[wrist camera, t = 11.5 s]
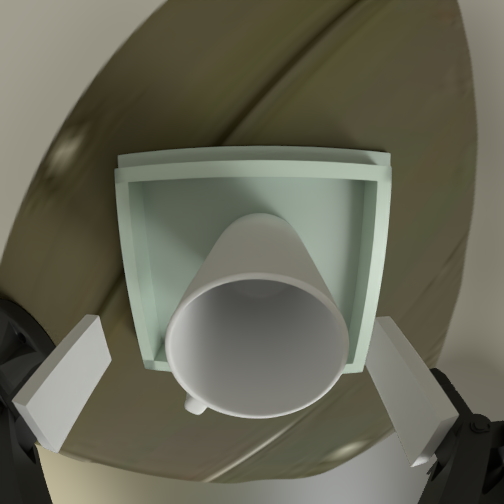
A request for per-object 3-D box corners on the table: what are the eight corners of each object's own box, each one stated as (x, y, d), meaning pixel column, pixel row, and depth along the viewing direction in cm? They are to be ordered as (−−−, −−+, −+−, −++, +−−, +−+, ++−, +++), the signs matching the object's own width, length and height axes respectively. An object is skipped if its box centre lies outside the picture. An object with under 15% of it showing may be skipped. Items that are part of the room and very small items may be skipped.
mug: (249, 189, 20) (231, 229, 9) (325, 244, 21) (385, 337, 10) (175, 295, 23) (114, 403, 11) (245, 339, 24) (233, 462, 12)
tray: (147, 356, 25) (137, 375, 23) (120, 155, 20) (101, 155, 17) (362, 359, 25) (370, 379, 22) (388, 153, 19) (405, 153, 16)
